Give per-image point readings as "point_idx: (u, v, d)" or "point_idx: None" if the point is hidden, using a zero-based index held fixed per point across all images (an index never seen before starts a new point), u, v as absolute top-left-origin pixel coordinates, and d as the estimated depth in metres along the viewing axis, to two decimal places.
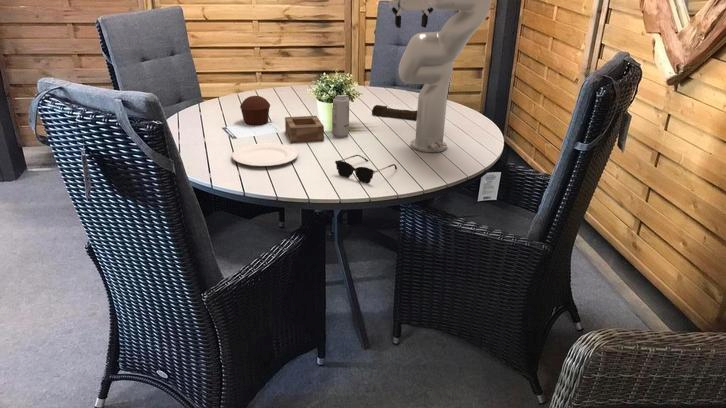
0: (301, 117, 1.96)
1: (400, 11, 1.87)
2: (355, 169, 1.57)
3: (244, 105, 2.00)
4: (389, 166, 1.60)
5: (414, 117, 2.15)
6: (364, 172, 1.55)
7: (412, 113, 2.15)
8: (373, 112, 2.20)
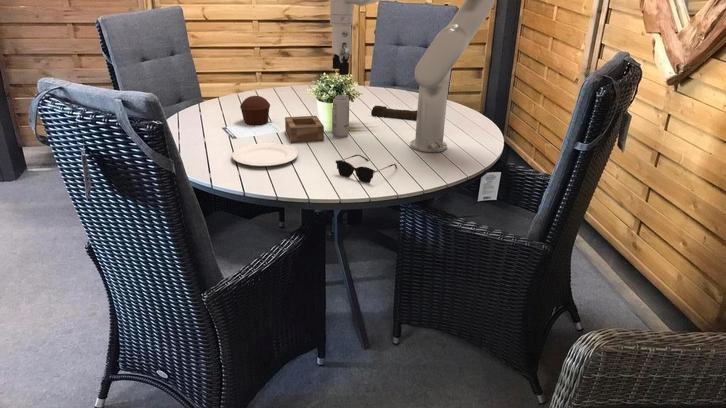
0: (301, 117, 1.96)
1: None
2: (355, 169, 1.57)
3: (244, 105, 2.00)
4: (389, 166, 1.60)
5: (414, 117, 2.15)
6: (364, 172, 1.56)
7: (412, 113, 2.15)
8: (372, 113, 2.19)
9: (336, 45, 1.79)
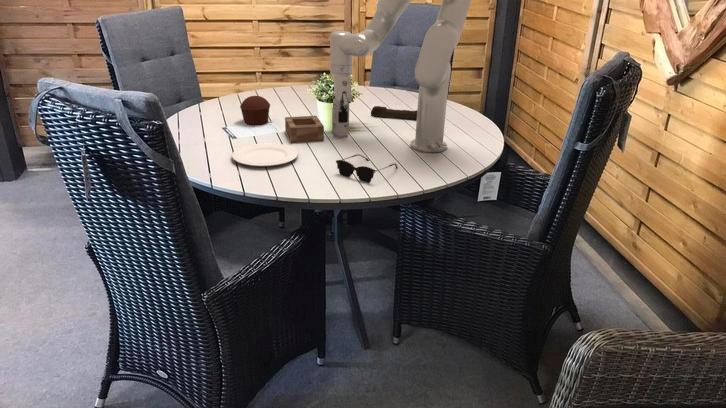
0: (301, 117, 1.96)
1: None
2: (356, 168, 1.57)
3: (244, 105, 2.00)
4: (390, 165, 1.60)
5: (415, 117, 2.15)
6: (365, 172, 1.56)
7: (412, 113, 2.15)
8: (372, 113, 2.18)
9: (336, 93, 1.85)
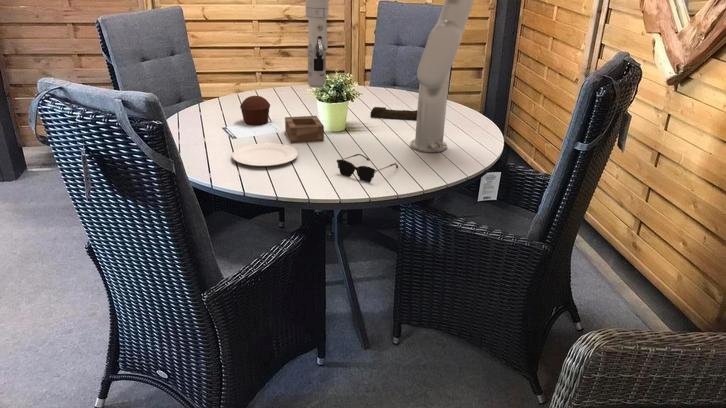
0: (301, 117, 1.96)
1: None
2: (356, 168, 1.57)
3: (244, 105, 2.00)
4: (390, 165, 1.61)
5: (415, 117, 2.15)
6: (365, 171, 1.56)
7: (413, 113, 2.15)
8: (372, 114, 2.17)
9: (311, 39, 1.76)
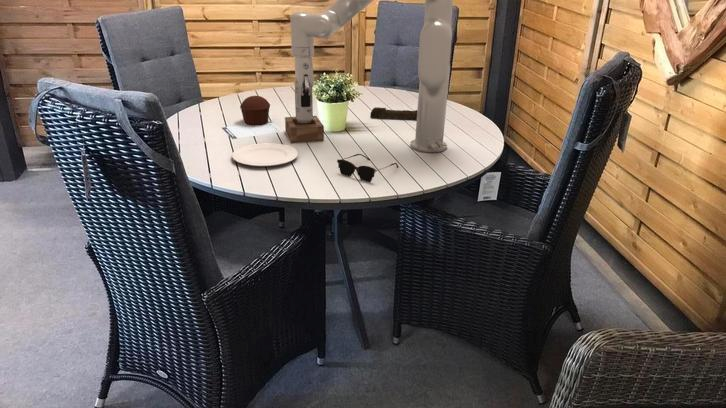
0: None
1: None
2: (357, 168, 1.57)
3: (244, 105, 2.00)
4: (391, 165, 1.61)
5: (415, 117, 2.15)
6: (365, 171, 1.56)
7: (413, 113, 2.15)
8: (372, 115, 2.16)
9: (298, 77, 1.81)
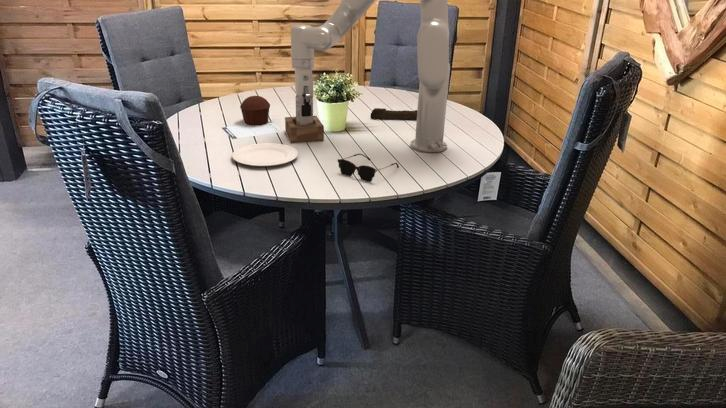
0: None
1: None
2: (357, 167, 1.58)
3: (244, 105, 2.00)
4: (391, 165, 1.61)
5: (416, 117, 2.15)
6: (366, 171, 1.56)
7: (413, 113, 2.15)
8: (372, 116, 2.15)
9: (298, 88, 1.82)
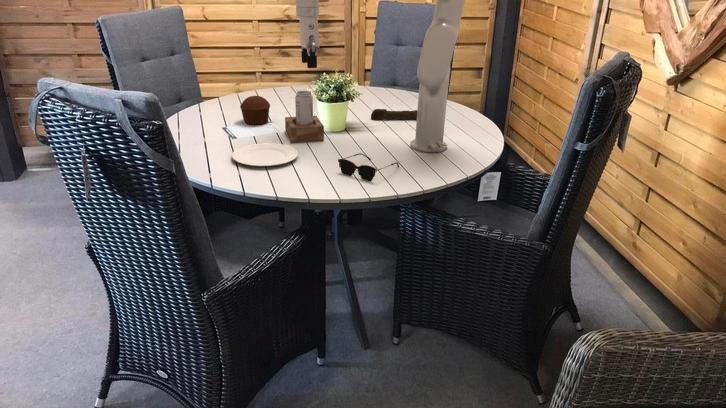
0: None
1: None
2: (358, 167, 1.58)
3: (244, 105, 2.00)
4: (391, 164, 1.61)
5: (416, 117, 2.15)
6: (366, 170, 1.57)
7: (414, 113, 2.15)
8: (373, 117, 2.14)
9: (303, 38, 1.77)
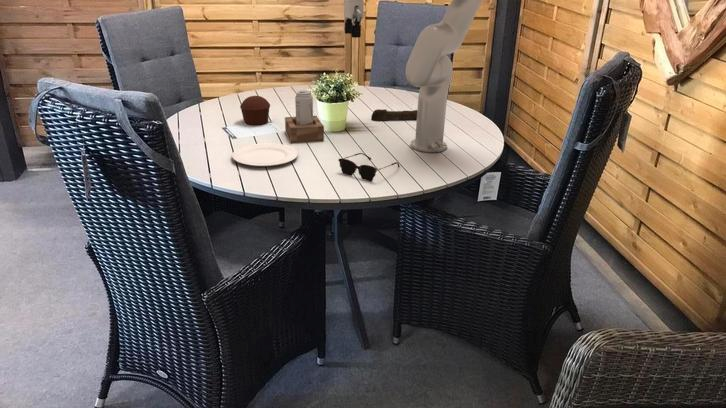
0: None
1: None
2: (358, 167, 1.58)
3: (244, 105, 2.00)
4: (392, 164, 1.62)
5: (416, 117, 2.15)
6: (367, 170, 1.57)
7: (414, 113, 2.15)
8: (373, 117, 2.13)
9: (348, 8, 1.86)
